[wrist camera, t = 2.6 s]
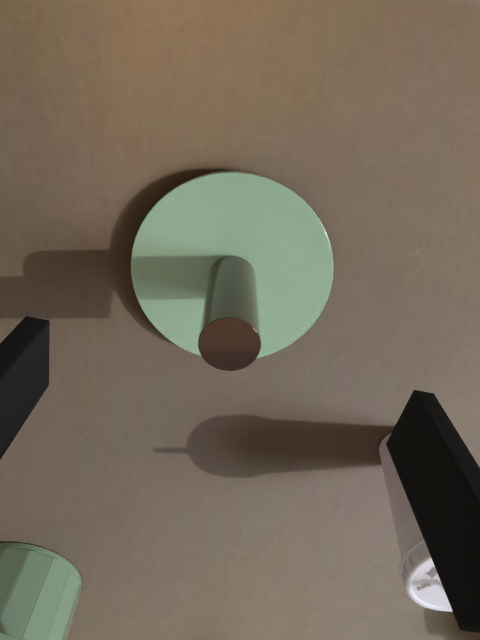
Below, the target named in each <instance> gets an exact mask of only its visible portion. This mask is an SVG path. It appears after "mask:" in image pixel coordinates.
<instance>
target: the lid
mask: <svg viewBox="0 0 480 640" xmlns="http://www.w3.org/2000/svg"><path fill="white" fill-rule="evenodd" d="M333 271H334V266H333V254H332V249H331V244H330V241H329V238H328V235H327V233H326V230H325V228H324V227H323V225H322V223H321V221H320V219H319V217H318V216H317V215H316V213H315V212H314V211H313V209H312V208H311V207H310V206H309V205H308V203H307V202H306V201H305V200H304V199H303V198H302V197H301V196H299V195H298V194H297V193H295V192H294V191H293V190H292V189H290V188H288V187H287V186H285V185H283V184H282V183H280V182H278V181H276V180H273V179H271V178H268V177H266V176H262V175H259V174H255V173H250V172H242V171H220V172H214V173H207V174H204V175H201V176H198V177H194V178H192V179H190V180H188V181H185V182H183V183H181V184H179V185H178V186H176V187H175V188H173V189H172V190H170V191H169V192H168V193H166V194H165V195H164V196H163V197H162V198H161V199H160V200H158V202H157V203H156V204H155V205H154V206H153V207H152V209H151V210H150V211H149V212H148V214H147V215H146V217H145V219H144V220H143V222H142V223H141V225H140V228H139V230H138V232H137V234H136V237H135V241H134V244H133V248H132V255H131V277H132V283H133V287H134V291H135V294H136V297H137V299H138V302H139V304H140V306H141V308H142V310H143V311H144V313H145V315H146V316H147V318H148V319H149V320H150V322H151V323H152V324H153V325H154V327H155V328H156V329H157V330H158V331H159V332H160V333H161V334H162V335H164V336H165V337H166V338H167V339H169V340H170V341H171V342H173V343H174V344H176V345H178V346H179V347H181V348H183V349H185V350H187V351H189V352H191V353H194V354H196V355H200V356H202V357H203V359H204V360H205V361H206V362H207V363H208V364H210V365H211V366H213V367H215V368H217V369H220V370H226V371H234V370H239V369H242V368H245V367H247V366H248V365H250V364H251V363H252V362H253V361H254V360H255V359H256V358H260V357H264V356H267V355H269V354H272V353H275V352H277V351H279V350H281V349H283V348H285V347H287V346H288V345H290V344H291V343H293V342H294V341H296V340H297V339H298V338H299V337H301V336H302V335H303V334H304V333H305V332H306V331H307V330H308V329H309V328H310V327H311V326H312V325H313V323H314V322H315V321H316V319H317V318H318V317H319V315H320V313H321V312H322V310H323V308H324V306H325V304H326V302H327V299H328V296H329V294H330V290H331V286H332V282H333Z"/></svg>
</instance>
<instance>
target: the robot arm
mask: <svg viewBox="0 0 480 640" xmlns="http://www.w3.org/2000/svg"><path fill="white" fill-rule="evenodd" d="M48 385H49V321H48V320H43V319H38V318H33V317H27V316H26V317H25V318H24V319H23V320H22V321H21V322H20V323H19V324H18V325H17V327H16V328H15V329H14V330H13V331H12V332H11V333H10V334H9V335H8V336H7V337H6V338H5V339H4V340H3V341H2V342H1V344H0V459H1V458H2V456H3V455H4V453H5V452H6V450H7V449H8V447H9V445H10V444H11V442H12V441H13V439H14V438H15V436H16V435H17V433H18V432H19V430H20V429H21V427H22V425H23V424H24V422H25V421H26V419H27V418H28V416H29V415H30V413H31V412H32V410H33V409H34V407H35V405H36V404H37V402H38V401H39V399H40V398H41V396H42V395H43V393H44V392H45V390H46V389H47V387H48ZM386 446H387V448H388V451H389V453H390V456H391V458H392V461H393V463H394V466H395V468H396V471H397V473H398V476H399V478H400V481H401V483H402V486H403V488H404V491H405V493H406V496H407V498H408V501H409V503H410V506H411V508H412V511H413V513H414V516H415V518H416V521H417V523H418V526H419V528H420V531H421V533H422V536H423V538H424V541H425V543H426V546H427V548H428V551H429V553H430V556H431V558H432V561H433V563H434V566H435V568H436V571H437V573H438V576H439V578H440V581H441V583H442V586H443V588H444V591H445V593H446V596H447V598H448V601H449V603H450V606H451V608H452V611H453V613H454V616H455V618H456V621H457V623H458V626H459V628H460V630H463V631H470V632H478V633H480V468H479V466H478V464H477V463H476V461H475V460H474V458H473V456H472V455H471V453H470V451H469V450H468V448H467V447H466V445H465V443H464V442H463V440H462V439H461V437H460V435H459V434H458V432H457V431H456V429H455V427H454V426H453V424H452V422H451V421H450V419H449V418H448V416H447V414H446V413H445V411H444V410H443V408H442V406H441V405H440V403H439V402H438V400H437V398H436V397H435V395H434V394H433V393H428V392H423V391H417V390H414V391H413V393H412V395H411V397H410V399H409V401H408V403H407V405H406V406H405V408H404V410H403V412H402V414H401V416H400V418H399V420H398V422H397V424H396V426H395V427H394V429H393V431H392V433H391V435H390V437H389V439H388V441H387V443H386Z"/></svg>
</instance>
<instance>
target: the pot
mask: <svg viewBox="0 0 480 640" xmlns="http://www.w3.org/2000/svg"><path fill="white" fill-rule="evenodd" d="M81 586H82V581H81V577H80V574H79V572H78V571H77V569H76V568H75V567H74V566H73V565H72V564H71V563H70V562H69V561H68V560H66V559H65V558H63V557H62V556H60V555H59V554H57V553H54V552H52V551H50V550H48V549H45V548H42V547H39V546H35V545H30V544H24V543H13V542H8V543H0V640H66V639H67V635H68V632H69V629H70V626H71V623H72V619H73V616H74V613H75V610H76V607H77V603H78V600H79V597H80V590H81Z"/></svg>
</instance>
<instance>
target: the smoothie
mask: <svg viewBox="0 0 480 640" xmlns="http://www.w3.org/2000/svg"><path fill="white" fill-rule="evenodd" d="M391 433H392V432H391ZM391 433H390V434H388V435H387V436H386V437H385V438H384V439H383V440H382V441H381V443H380V446H379V453H380V458H381V463H382V468H383V472H384V477H385V482H386V487H387V491H388V496H389V501H390V505H391V510H392V515H393V520H394V524H395V529H396V534H397V540H398V544H399V548H400V553H401V557H402V559H401V563H400V566H399V574H400V578H401V580H402V581H403V583H404V586H405V589H406V592H407V594H408V596H409V597H410V598H411V599H412V600H413V601H414V602H416V603H417V604H419V605H421V606H423V607H426V608H429V609H432V610H438V611H448V612H453V611H452V608H451V606H450V603H449V601H448V598H447V596H446V593H445V591H444V588H443V586H442V583H441V581H440V578H439V576H438V573H437V571H436V568H435V566H434V563H433V561H432V558H431V556H430V553H429V551H428V548H427V546H426V543H425V541H424V538H423V536H422V533H421V531H420V528H419V526H418V523H417V521H416V518H415V516H414V513H413V511H412V508H411V506H410V503H409V501H408V498H407V496H406V493H405V491H404V488H403V486H402V483H401V481H400V478H399V476H398V473H397V471H396V468H395V466H394V463H393V461H392V458H391V456H390V453H389V451H388V448H387V446H386V443H387V441H388V439H389V437H390V435H391Z"/></svg>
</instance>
